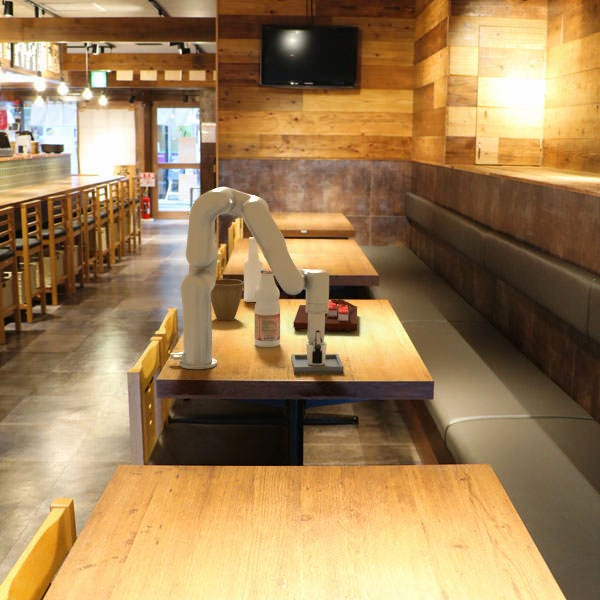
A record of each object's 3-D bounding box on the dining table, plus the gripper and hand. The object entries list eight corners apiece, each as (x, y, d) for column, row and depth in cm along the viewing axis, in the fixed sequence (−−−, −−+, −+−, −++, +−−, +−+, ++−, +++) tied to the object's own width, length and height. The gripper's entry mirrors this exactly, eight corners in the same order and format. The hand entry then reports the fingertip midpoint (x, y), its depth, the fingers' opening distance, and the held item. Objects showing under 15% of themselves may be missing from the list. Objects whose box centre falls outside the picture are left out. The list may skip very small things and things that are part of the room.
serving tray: (294, 374, 269) (294, 367, 268) (291, 361, 284) (291, 354, 284) (343, 373, 270) (343, 366, 269) (337, 361, 285) (338, 353, 285)
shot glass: (314, 359, 282) (314, 339, 280) (330, 363, 277) (331, 342, 276) (301, 363, 276) (301, 342, 275) (317, 367, 272) (318, 346, 271)
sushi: (357, 316, 359) (357, 289, 357) (356, 335, 325) (357, 305, 323) (299, 315, 361) (299, 287, 359) (293, 333, 327) (293, 303, 324)
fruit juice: (249, 344, 307) (248, 269, 302) (266, 340, 314) (266, 266, 309) (267, 349, 301) (267, 272, 295) (285, 344, 308) (285, 269, 302)
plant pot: (217, 324, 340) (217, 285, 337) (202, 317, 353) (202, 280, 350) (249, 320, 348) (249, 282, 345) (234, 314, 360) (234, 277, 357)
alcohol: (265, 300, 392) (265, 236, 386) (260, 303, 383) (259, 238, 377) (247, 299, 394) (246, 236, 388) (241, 302, 385) (241, 238, 379)
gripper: (303, 302, 281) (303, 353, 285) (307, 312, 264) (306, 367, 268) (325, 302, 282) (324, 353, 285) (331, 312, 265) (330, 367, 268)
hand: (316, 359), depth 277 cm, fingers closed on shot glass, 6 cm apart
